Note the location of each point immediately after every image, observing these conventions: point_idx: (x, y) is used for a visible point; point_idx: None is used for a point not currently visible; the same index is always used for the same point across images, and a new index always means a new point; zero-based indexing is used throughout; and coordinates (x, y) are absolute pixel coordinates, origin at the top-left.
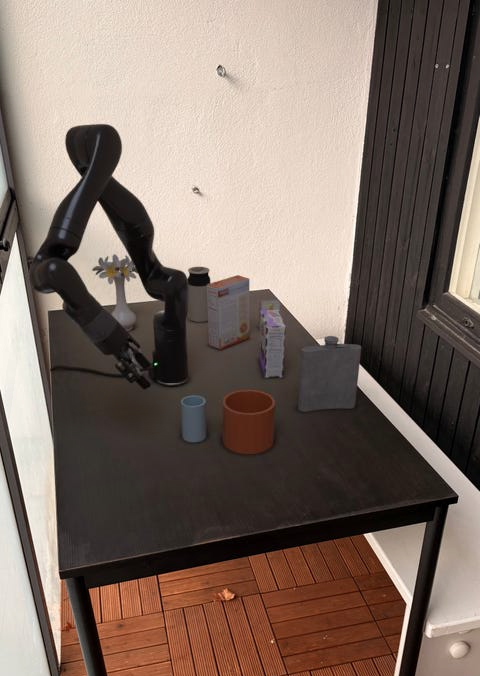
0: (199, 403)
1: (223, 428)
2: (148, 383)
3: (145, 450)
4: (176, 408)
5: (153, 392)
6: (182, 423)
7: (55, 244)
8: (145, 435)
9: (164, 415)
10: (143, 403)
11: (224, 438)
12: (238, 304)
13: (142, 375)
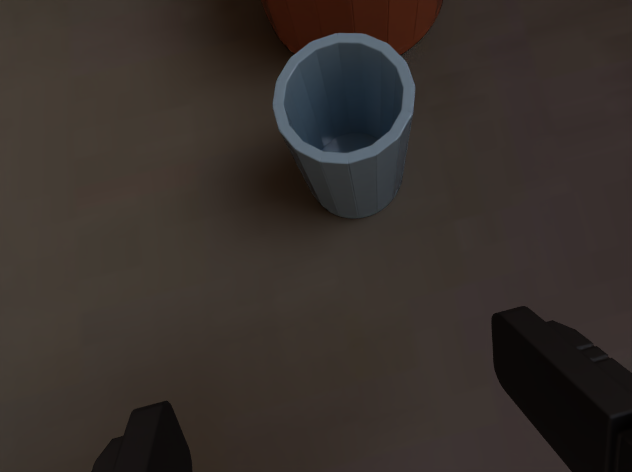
0: (297, 97)
1: (395, 14)
2: (542, 325)
3: None
4: (148, 295)
5: (18, 429)
6: (381, 190)
7: None
8: (382, 371)
9: (209, 330)
10: None
11: (403, 35)
12: None
13: (622, 398)
